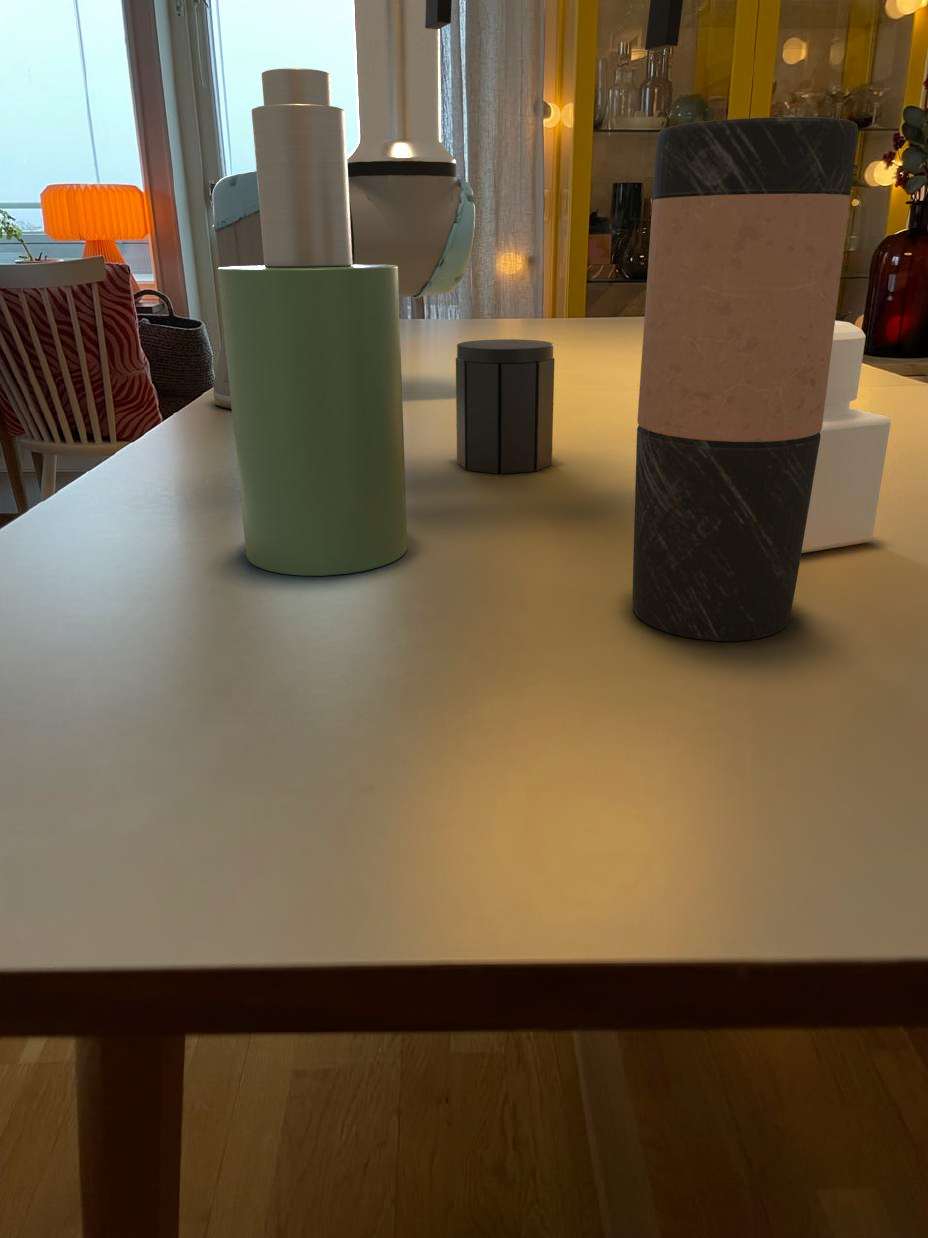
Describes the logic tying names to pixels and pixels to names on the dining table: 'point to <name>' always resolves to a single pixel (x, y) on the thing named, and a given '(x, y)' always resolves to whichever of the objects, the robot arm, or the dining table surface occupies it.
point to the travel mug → (735, 367)
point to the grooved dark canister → (504, 405)
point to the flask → (313, 354)
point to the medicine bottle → (846, 454)
